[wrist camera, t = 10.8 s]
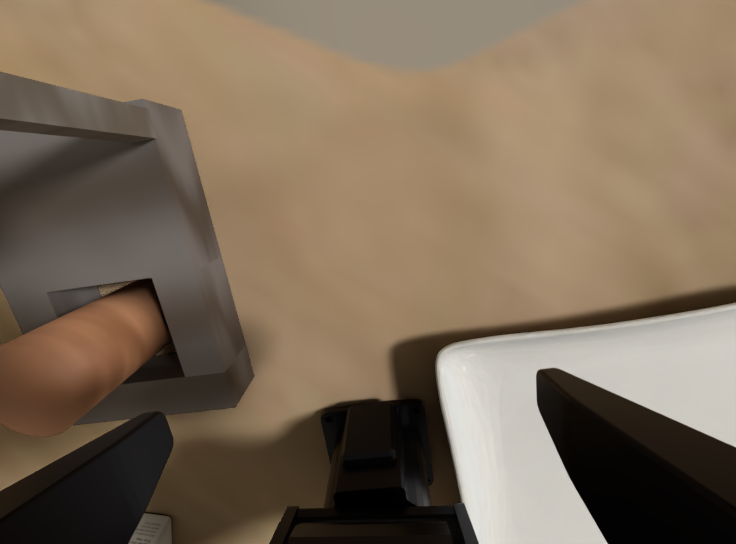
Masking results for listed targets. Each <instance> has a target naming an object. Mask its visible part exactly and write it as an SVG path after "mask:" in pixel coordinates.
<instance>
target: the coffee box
mask: <svg viewBox="0 0 736 544" xmlns="http://www.w3.org/2000/svg"><path fill="white" fill-rule="evenodd" d="M128 544H172V533H171V518H170V517H169V516H163V515H155V514H147V513H144V515H143V517H142V519H141V520H140V522H139V524H138V526H137V528H136V530H135V532H134V534H133V536H132V538H131V539H130V541H129V543H128Z"/></svg>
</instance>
